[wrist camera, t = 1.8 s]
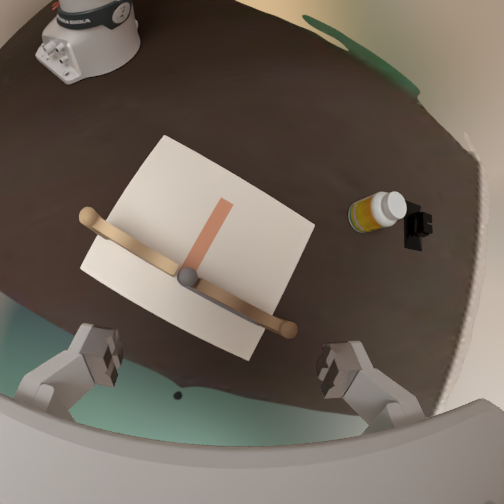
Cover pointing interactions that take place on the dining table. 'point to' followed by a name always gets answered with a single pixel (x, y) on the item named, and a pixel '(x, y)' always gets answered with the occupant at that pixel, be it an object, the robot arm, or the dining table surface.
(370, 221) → the supplement bottle
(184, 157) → the card
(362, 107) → the dining table surface
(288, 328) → the fixed fence section
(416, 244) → the black blocky piece
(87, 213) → the folding fence section
